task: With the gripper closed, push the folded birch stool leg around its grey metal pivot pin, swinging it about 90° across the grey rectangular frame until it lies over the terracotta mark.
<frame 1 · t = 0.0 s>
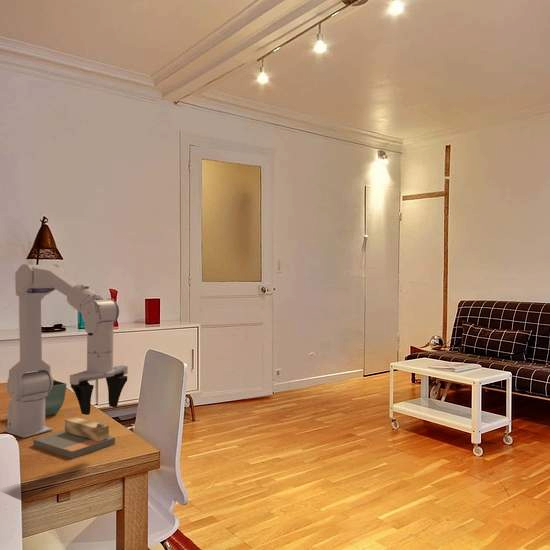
hand: (99, 410, 117), 10 cm above the table, fingers open, 7 cm apart
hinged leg: (86, 427, 125), point 3 cm above the table, hinge at 0.0°
grey rectangular frame: (74, 444, 123), on the table
flower pot: (45, 414, 149), on the table
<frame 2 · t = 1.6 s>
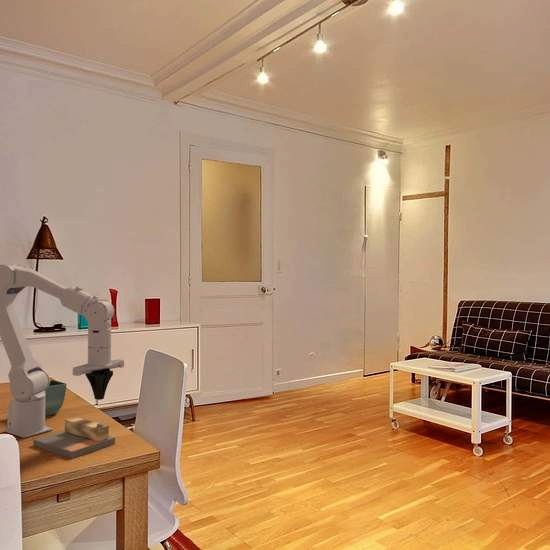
hand: (99, 398, 131), 9 cm above the table, fingers closed
nothing on the table moved.
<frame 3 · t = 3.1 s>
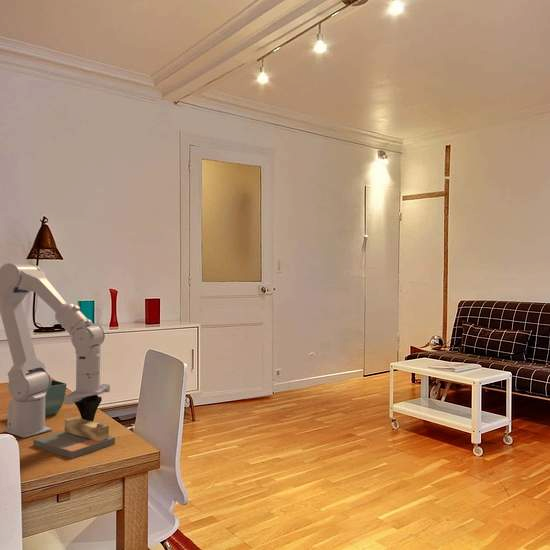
hand: (87, 426, 129), 3 cm above the table, fingers closed, pressing on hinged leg
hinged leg: (86, 427, 125), point 3 cm above the table, hinge at 0.3°, touching gripper
everything else where it was.
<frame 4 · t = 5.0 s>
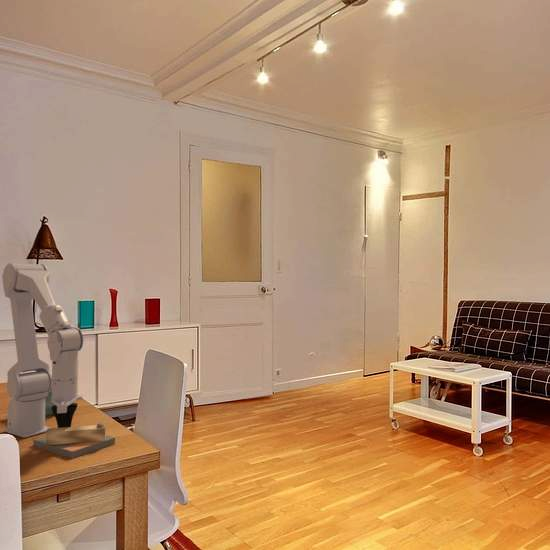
hand: (64, 435, 121), 3 cm above the table, fingers closed, pressing on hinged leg
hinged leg: (76, 433, 120), point 3 cm above the table, hinge at 49.4°, touching gripper
everything else where it was.
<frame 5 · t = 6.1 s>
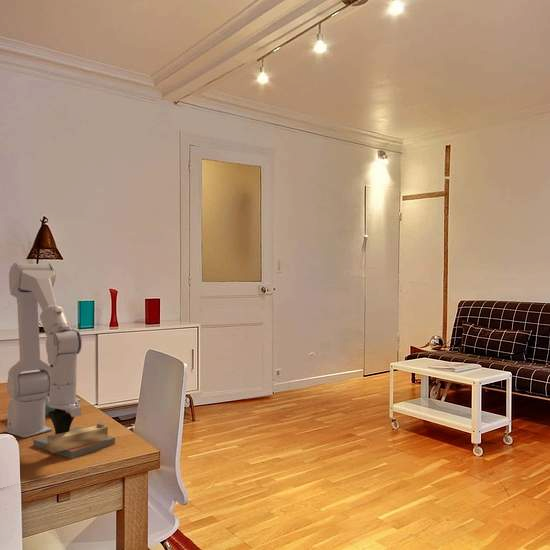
hand: (62, 440, 117), 3 cm above the table, fingers closed, pressing on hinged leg
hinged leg: (78, 436, 118), point 3 cm above the table, hinge at 78.1°, touching gripper
everything else where it was.
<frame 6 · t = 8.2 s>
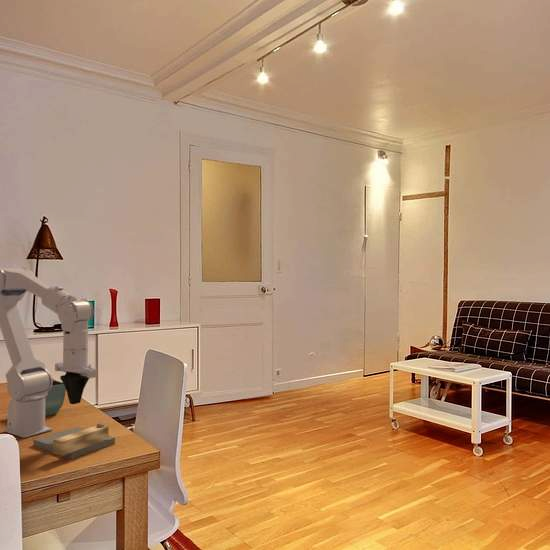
hand: (74, 403, 125), 9 cm above the table, fingers closed
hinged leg: (82, 437, 117), point 3 cm above the table, hinge at 93.6°
everything else where it was.
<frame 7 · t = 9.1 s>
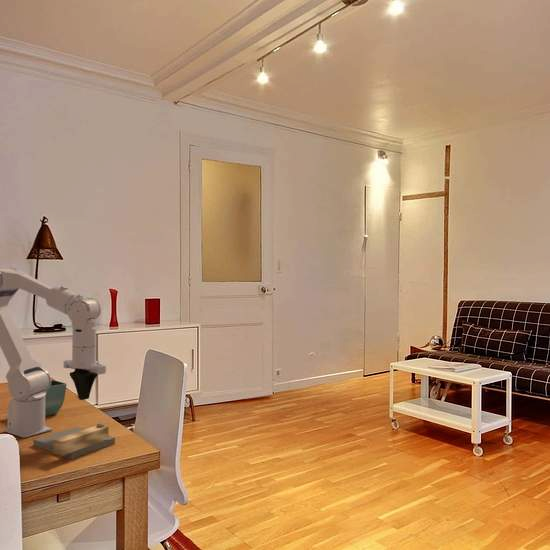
hand: (83, 399, 129), 9 cm above the table, fingers closed
nothing on the table moved.
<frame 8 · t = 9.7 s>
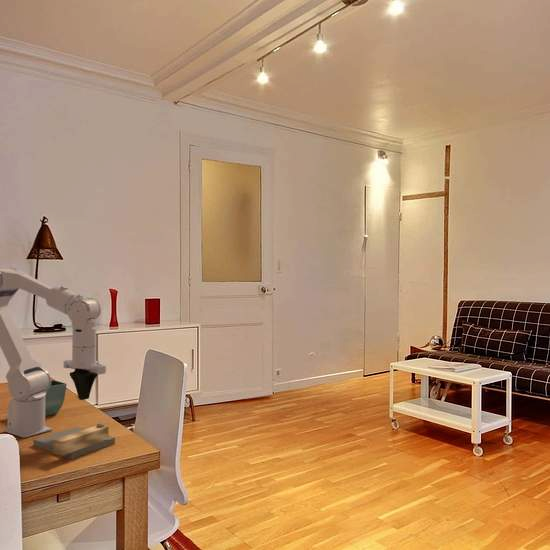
hand: (83, 399, 129), 9 cm above the table, fingers closed
nothing on the table moved.
at the end: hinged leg at +94° (first picture: +0°); flower pot moved 0.3 cm from its start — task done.
